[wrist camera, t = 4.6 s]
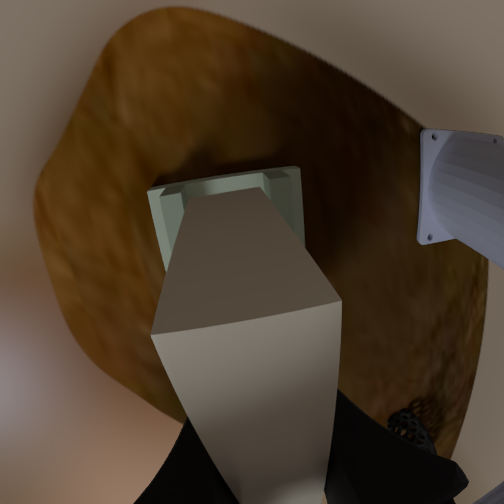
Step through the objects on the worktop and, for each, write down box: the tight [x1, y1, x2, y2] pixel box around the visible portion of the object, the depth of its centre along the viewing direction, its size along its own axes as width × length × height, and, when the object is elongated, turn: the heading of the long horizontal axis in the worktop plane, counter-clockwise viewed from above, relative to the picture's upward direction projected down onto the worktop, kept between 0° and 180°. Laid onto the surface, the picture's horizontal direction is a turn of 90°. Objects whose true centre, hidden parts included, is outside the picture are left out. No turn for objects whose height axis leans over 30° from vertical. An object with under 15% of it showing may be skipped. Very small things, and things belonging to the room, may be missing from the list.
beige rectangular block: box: [151, 187, 342, 504], centre depth 9 cm, size 12×2×7 cm, turn 8°
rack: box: [147, 166, 305, 272], centre depth 17 cm, size 8×11×3 cm
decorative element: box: [388, 409, 437, 455], centre depth 30 cm, size 22×5×6 cm, turn 34°
